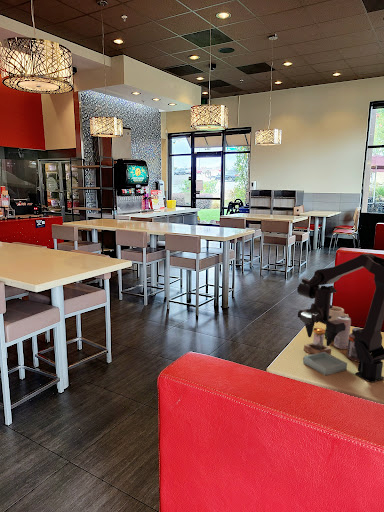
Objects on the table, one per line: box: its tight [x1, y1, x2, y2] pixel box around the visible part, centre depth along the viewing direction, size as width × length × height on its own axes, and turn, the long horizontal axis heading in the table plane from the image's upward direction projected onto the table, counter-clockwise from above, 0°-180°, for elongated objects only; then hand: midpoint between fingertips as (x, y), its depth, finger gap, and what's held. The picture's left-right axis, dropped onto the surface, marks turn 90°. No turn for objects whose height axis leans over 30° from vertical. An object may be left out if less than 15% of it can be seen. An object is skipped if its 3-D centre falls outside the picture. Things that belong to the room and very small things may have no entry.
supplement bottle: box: [346, 327, 362, 362], centre depth 140 cm, size 6×6×11 cm
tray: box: [302, 352, 348, 376], centre depth 133 cm, size 10×10×2 cm
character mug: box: [324, 305, 349, 338], centre depth 159 cm, size 11×7×13 cm, turn 67°
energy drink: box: [333, 316, 352, 350], centre depth 151 cm, size 5×5×12 cm
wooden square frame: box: [303, 342, 332, 355], centre depth 145 cm, size 7×7×2 cm
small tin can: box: [312, 327, 325, 350], centre depth 145 cm, size 4×4×9 cm
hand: (318, 341), depth 145 cm, fingers open, 9 cm apart
